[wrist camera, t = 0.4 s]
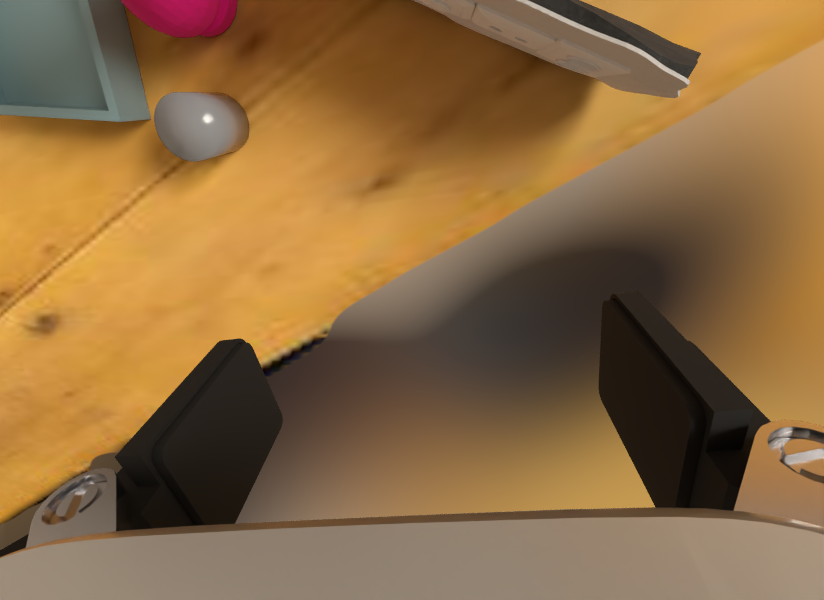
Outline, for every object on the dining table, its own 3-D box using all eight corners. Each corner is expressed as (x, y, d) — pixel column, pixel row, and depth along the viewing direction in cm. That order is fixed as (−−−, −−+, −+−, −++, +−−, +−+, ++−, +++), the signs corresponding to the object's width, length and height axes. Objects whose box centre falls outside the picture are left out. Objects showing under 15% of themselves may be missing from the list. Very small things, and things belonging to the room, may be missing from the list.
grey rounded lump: (190, 91, 36) (146, 90, 31) (245, 94, 36) (211, 94, 31) (201, 150, 39) (163, 159, 34) (252, 153, 39) (222, 163, 33)
